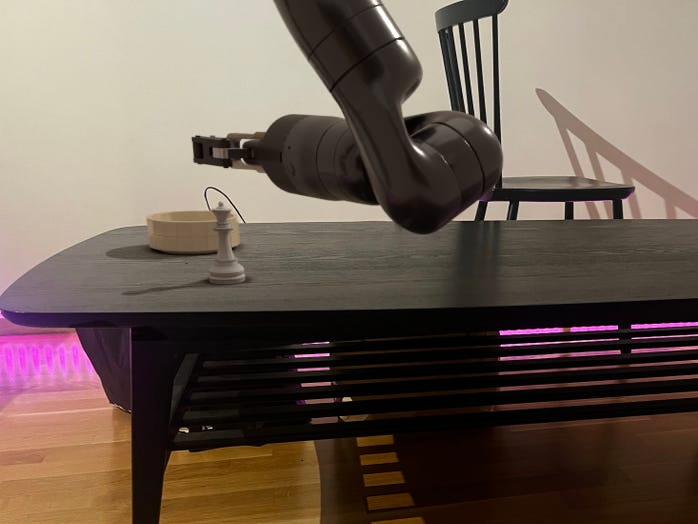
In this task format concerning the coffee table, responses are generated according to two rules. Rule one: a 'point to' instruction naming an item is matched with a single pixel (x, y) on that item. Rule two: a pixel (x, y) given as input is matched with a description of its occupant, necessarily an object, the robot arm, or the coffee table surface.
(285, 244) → the coffee table surface
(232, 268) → the chess piece
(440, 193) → the robot arm
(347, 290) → the coffee table surface
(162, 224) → the bowl
